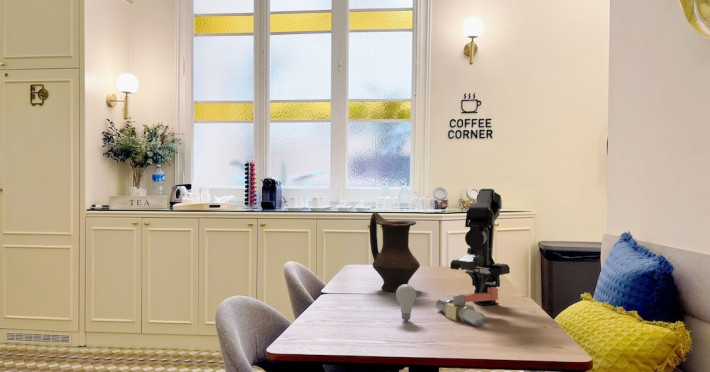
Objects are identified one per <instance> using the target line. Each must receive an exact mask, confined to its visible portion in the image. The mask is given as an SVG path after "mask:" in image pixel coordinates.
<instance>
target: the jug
mask: <svg viewBox="0 0 710 372" xmlns="http://www.w3.org/2000/svg"><path fill="white" fill-rule="evenodd" d="M416 224H417V221H415V220H389V219H385V218H384V217H382V216H381V215H380V214H379V213H378V212H373V213H372V214H371V218H370V220H369V241H370V242H369V243H370V250H371V254H372V258H373V262H372V267H373V269H374V270H375V271H376V272H377V274H378V275H379V277H381V278H382V281H383V284H382V286H381V290H382V291H383V292H391V293H396V291H397V289H398V288H399V287H400V286H401V285H403V284H408V285H409V282H410V280H411V278H412V277H413V276H414V274H415V273H416V272H417V271H418V270H419V269H420V267H421V266H420V265H421V264H420V262H419V261H418V260H417V258H416V257H415V256H414V254H413V253H412V252H411V249H410V247H409V243H410V242H409V236H410V235H409V233H410V229H411V226H415V225H416ZM377 225H378V226H380V227H381V229H382V230H381V231H382V248H381V250H380V251H379V247H378V236H377V232H378V231H377V229H378V228H377V227H378V226H377Z"/></svg>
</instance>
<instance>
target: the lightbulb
mask: <svg viewBox="0 0 710 372" xmlns="http://www.w3.org/2000/svg"><path fill="white" fill-rule="evenodd" d="M395 297H396V300H397V302H398V305H399V306H400V307H399V308H400V312H401V319H402V320H403V321H405V322H408V321H410V320H411V315H412V314H411V313H412V309H413V305H414V303H415V301H416V298H417V290H416V289H415V287H414V286H413V285H411V284H409V283H408V284H403V285H401V286H400V287H399V288H398V289H397V291H396V292H395Z"/></svg>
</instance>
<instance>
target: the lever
mask: <svg viewBox="0 0 710 372" xmlns="http://www.w3.org/2000/svg"><path fill="white" fill-rule="evenodd" d="M452 300H453V304H454V305H465V304H466V303H474V301H487V300H496V301H498V300H499V289H498V287H496V288H494V287H490V288H488V293H475V294H474V293H463V294H462V293H461V294H460V293H454V294H453V299H452Z"/></svg>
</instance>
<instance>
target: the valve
mask: <svg viewBox="0 0 710 372" xmlns="http://www.w3.org/2000/svg"><path fill="white" fill-rule="evenodd" d="M435 308H436V309H437V310H438V311H439V312H443V314H444V315H445V318H448V319H450V320H452V321H454V322H462V323H463V324H466V323H468V324H470V325H472V326H475V327H482V326H483V325H484V324H485V322H486V316H485V314H484V313H483V312H481V311H476V309H475V308H474V306H473V305H471V304H467V303H465V305H454V304H453V299H446V298H442V297H441V298H439V299H438V300H437V301H436V304H435Z"/></svg>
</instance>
